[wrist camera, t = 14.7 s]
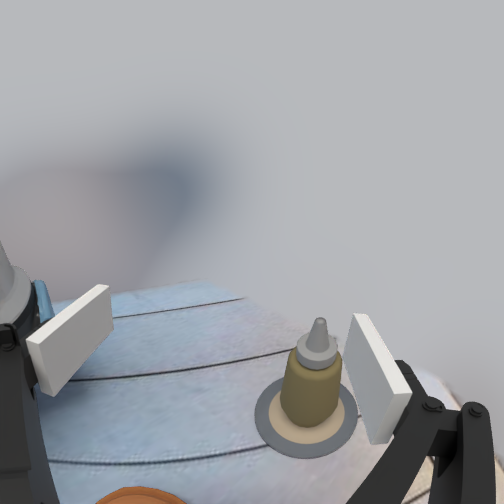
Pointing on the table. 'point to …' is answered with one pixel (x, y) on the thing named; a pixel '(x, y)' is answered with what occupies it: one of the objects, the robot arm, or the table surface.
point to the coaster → (300, 438)
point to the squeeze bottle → (312, 378)
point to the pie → (140, 496)
